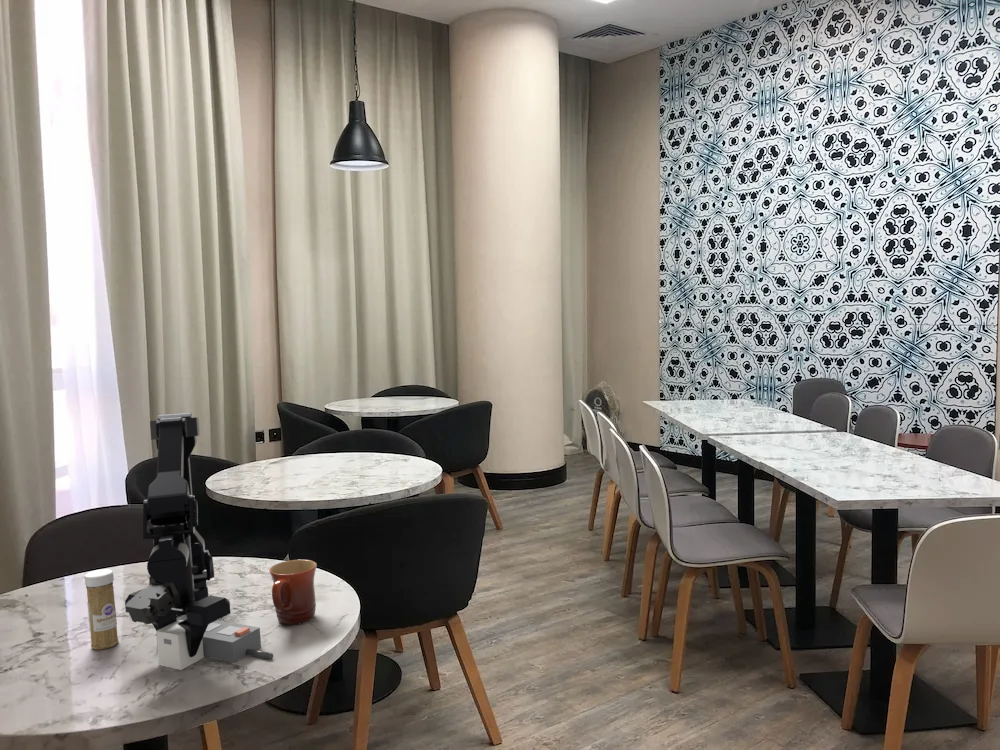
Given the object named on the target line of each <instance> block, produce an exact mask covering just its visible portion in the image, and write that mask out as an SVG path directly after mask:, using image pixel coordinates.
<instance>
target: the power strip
mask: <svg viewBox="0 0 1000 750" xmlns="http://www.w3.org/2000/svg"><path fill="white" fill-rule="evenodd" d="M186 619H187V615H182V616H179V617H178V616H177V621H178V620H186ZM155 635H156V637H157V634H156V633H155ZM202 641H203V654H204V658H211V659H216V660H220V661H225V662H229V663H235V662H238V661H239V660H241V659H243V658H245V657H246V656H252V657H256V658H261V659H262V658H263V659H267V660H272V659H274V654H273V652H269V651H268V652H267V651H263V650H258V649H260V648H261V647H262V641H261V628H260V626H259V627H257V626H253V625H246V624H242V623H235V622H230V621H223V620H220V619H218V620H216V621H214V622H212V623H210V624H209V625H208V627H207V629H206V631H205V633H204V636H203V638H202ZM157 648H158V646H157Z"/></svg>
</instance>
